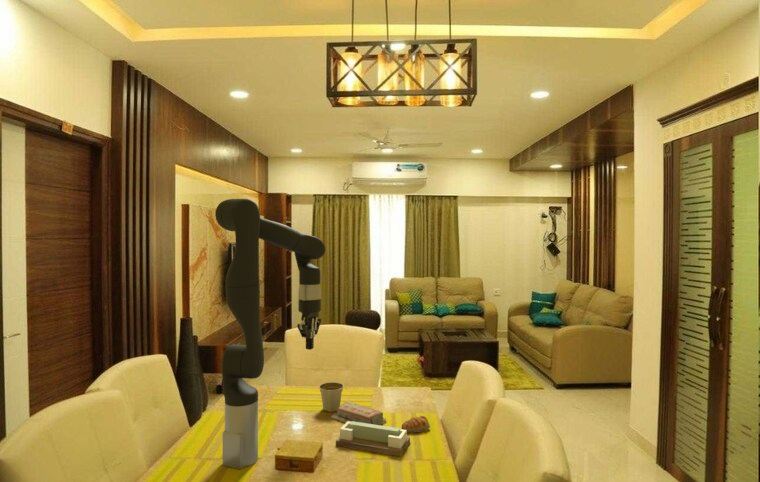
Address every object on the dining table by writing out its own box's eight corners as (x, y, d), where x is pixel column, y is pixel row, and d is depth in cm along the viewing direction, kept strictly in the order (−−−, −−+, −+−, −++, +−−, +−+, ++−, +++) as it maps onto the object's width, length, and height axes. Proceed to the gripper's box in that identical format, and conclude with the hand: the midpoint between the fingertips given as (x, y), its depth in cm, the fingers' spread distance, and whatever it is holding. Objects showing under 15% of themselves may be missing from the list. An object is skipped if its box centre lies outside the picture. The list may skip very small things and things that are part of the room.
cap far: (351, 440, 142) (351, 430, 142) (339, 438, 143) (339, 428, 143) (359, 432, 148) (359, 422, 148) (347, 430, 149) (347, 421, 149)
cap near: (400, 448, 137) (400, 438, 137) (388, 446, 138) (388, 436, 138) (406, 439, 143) (406, 430, 143) (394, 437, 144) (394, 428, 144)
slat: (397, 444, 139) (397, 431, 139) (349, 436, 145) (349, 424, 145) (399, 441, 142) (400, 428, 142) (352, 433, 147) (352, 421, 147)
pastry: (408, 436, 149) (408, 424, 149) (397, 428, 155) (397, 417, 155) (431, 430, 154) (431, 418, 154) (420, 423, 160) (420, 412, 160)
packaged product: (387, 409, 160) (369, 418, 153) (387, 423, 160) (369, 432, 153) (349, 397, 172) (330, 405, 164) (349, 410, 172) (330, 419, 164)
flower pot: (327, 415, 166) (327, 391, 166) (314, 408, 173) (314, 385, 173) (348, 409, 171) (348, 386, 171) (334, 402, 179) (335, 380, 179)
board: (400, 456, 135) (400, 451, 135) (335, 445, 142) (335, 440, 142) (409, 442, 144) (409, 437, 144) (348, 432, 151) (348, 428, 151)
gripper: (309, 294, 161) (309, 343, 161) (289, 299, 149) (289, 352, 149) (328, 295, 159) (328, 345, 159) (310, 300, 146) (310, 354, 146)
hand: (309, 348), depth 154 cm, fingers closed
